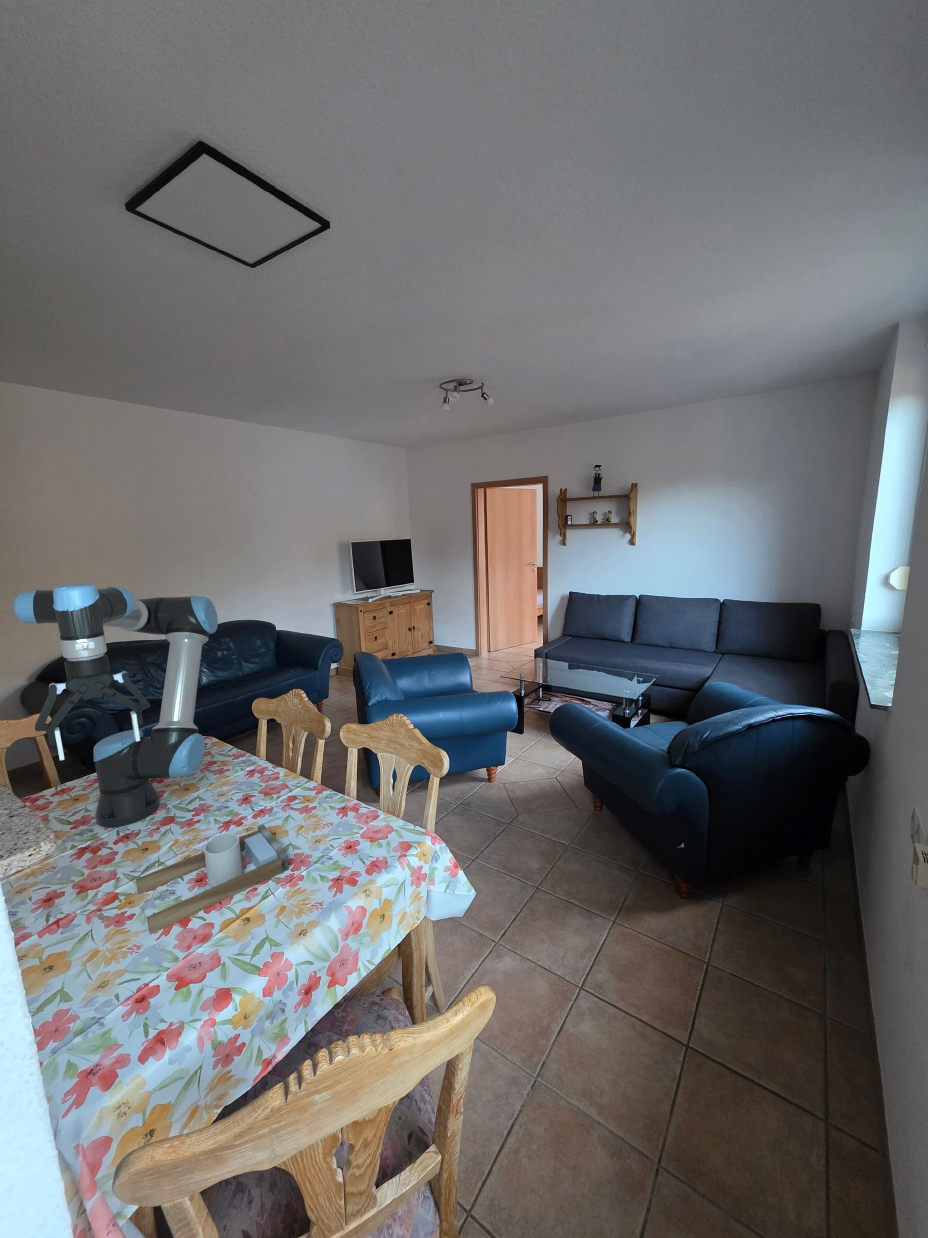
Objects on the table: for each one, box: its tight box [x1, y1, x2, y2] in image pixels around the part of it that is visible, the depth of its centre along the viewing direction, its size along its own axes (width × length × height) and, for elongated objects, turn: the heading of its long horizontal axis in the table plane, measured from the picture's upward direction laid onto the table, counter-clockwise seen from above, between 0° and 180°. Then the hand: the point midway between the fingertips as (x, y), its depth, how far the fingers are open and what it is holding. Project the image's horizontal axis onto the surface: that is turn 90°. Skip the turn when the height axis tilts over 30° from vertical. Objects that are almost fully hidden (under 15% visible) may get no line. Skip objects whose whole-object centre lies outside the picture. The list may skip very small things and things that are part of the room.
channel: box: [135, 823, 289, 935], centre depth 111 cm, size 16×28×4 cm, turn 131°
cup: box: [203, 833, 243, 888], centre depth 113 cm, size 7×10×9 cm
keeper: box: [244, 833, 277, 869], centre depth 118 cm, size 11×4×4 cm
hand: (101, 748), depth 108 cm, fingers open, 13 cm apart
